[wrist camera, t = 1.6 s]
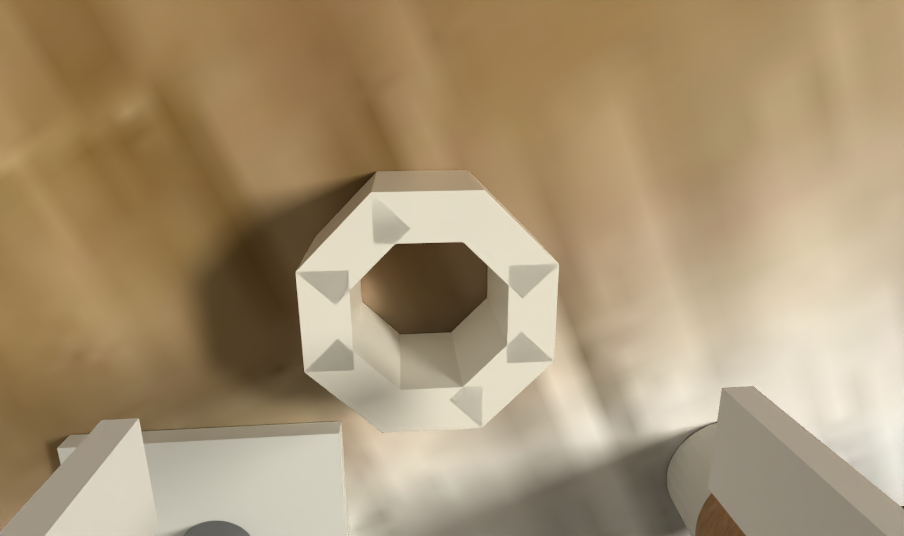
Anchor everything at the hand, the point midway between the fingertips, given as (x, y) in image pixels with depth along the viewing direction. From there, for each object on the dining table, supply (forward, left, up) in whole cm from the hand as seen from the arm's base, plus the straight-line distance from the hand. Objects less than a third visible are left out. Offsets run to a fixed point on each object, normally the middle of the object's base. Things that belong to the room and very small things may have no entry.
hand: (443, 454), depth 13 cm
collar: (0, 0, -13) cm, 13 cm away
